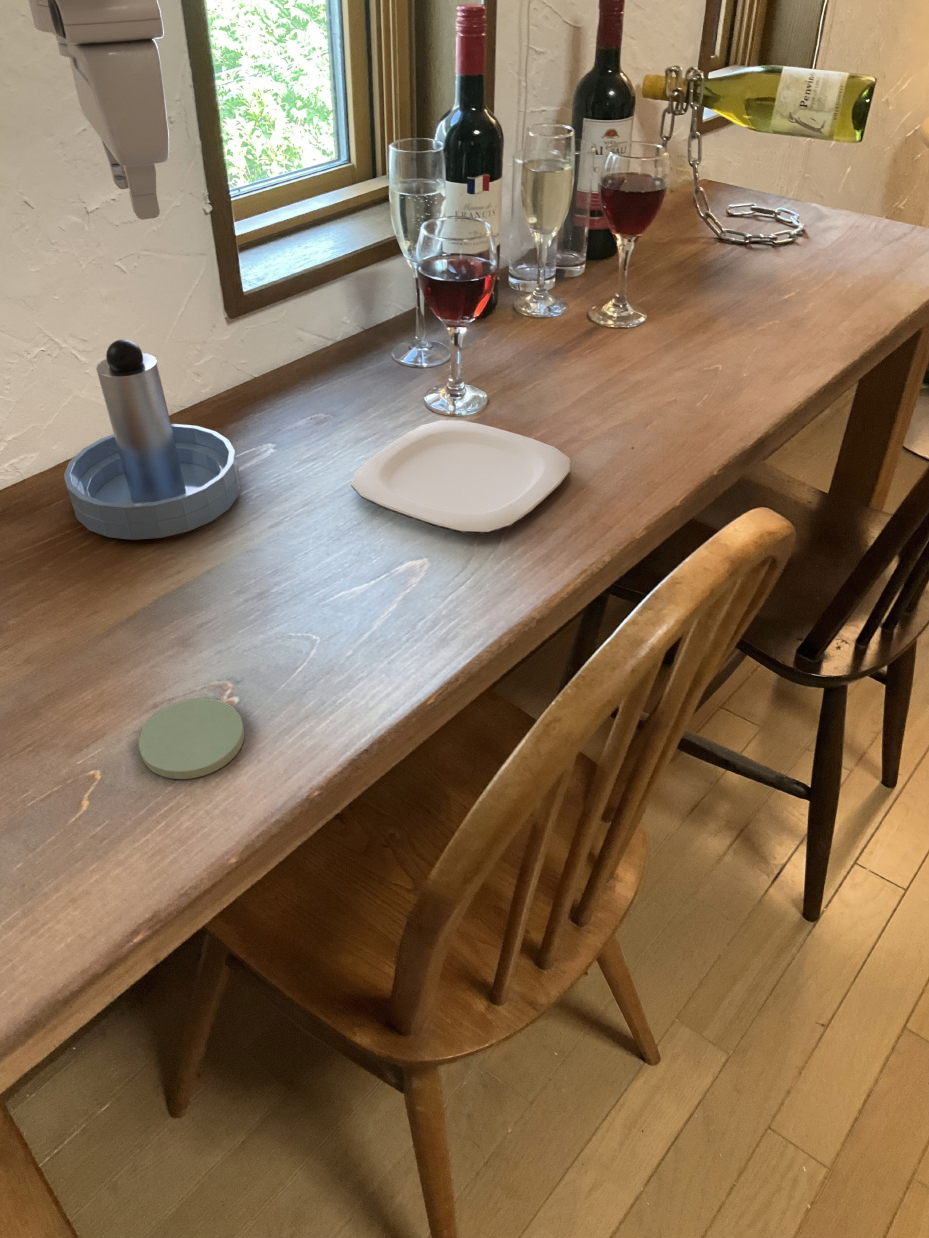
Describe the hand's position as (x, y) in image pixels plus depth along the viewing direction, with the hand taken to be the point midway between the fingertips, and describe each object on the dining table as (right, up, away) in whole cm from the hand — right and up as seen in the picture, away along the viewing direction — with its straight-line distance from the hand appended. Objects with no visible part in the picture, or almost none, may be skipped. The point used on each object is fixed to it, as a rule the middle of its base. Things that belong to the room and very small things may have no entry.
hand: (136, 201), depth 77 cm
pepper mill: (-2, -22, +13) cm, 26 cm away
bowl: (-2, -22, +14) cm, 26 cm away
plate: (+26, -21, +15) cm, 37 cm away
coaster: (+8, -42, -11) cm, 44 cm away
